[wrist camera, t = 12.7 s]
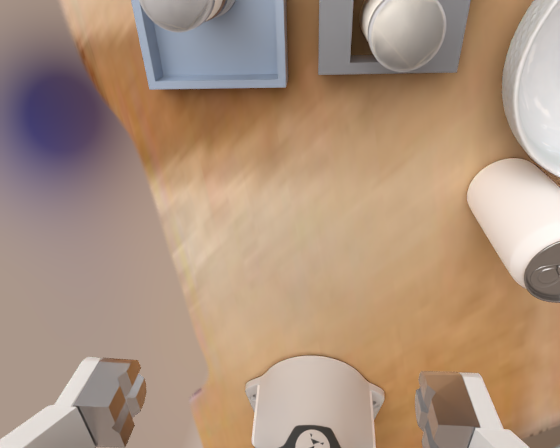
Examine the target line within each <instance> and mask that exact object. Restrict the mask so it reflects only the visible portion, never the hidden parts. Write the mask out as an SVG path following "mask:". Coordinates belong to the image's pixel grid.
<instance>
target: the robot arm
mask: <svg viewBox="0 0 560 448" xmlns="http://www.w3.org/2000/svg"><path fill="white" fill-rule="evenodd" d="M140 369H141V367H140V364H139V362H138V360H126V359H113V358H95V357H87V358H86V359H84V360H83V361H82V362H81V363H80V365H79V367H78V368H77V370H76V371H75V373H74V374H73V376H72V378H71V379H70V381H69V382H68V384H67V385H66V387H65V389H64V390H63V392H62V393H61V395H60V396H59V398H58V400H57V401H56V403H55V404H54V405H49V406H47V407H46V408H45V409H43V410H41V411H40V412H39V413H37V414H36V415H34V416H33V417H32V418H30V419H29V420H27V421H26V422H25V423H23V424H22V425H20V426H19V427H17V428H16V429H14V430H13V431H12V432H10V433H9V434H7V435H6V436H4V437H3V438H2V439H0V448H96V447H119V448H125V446H126V444H127V442H128V440H129V437H130V435H131V433H132V430H133V428H134V426H135V425H134V422H133V417H134V416H135V415H136V414H138V413H139V412H140V411H141V409H142V406H143V404H144V401H145V395H146V383H145V379H144V378H143V377H142V376H141V375H140V374H138V373H139V371H140ZM419 384H420V388H419V389H418V390H416V396H415V411H416V418H417V423H418V426H419V427H420V428H421V429H422V431H423V432H424V433H423V438H422V445H423V448H530V447H528V446H527V445H526V444H525V443H524V442H523V441H522V440H521V439H520V438H518V437H517V436H516V435H515V434H514V433H513V432H512V431H511V430H507V429H504V428H503V426H502V424H501V421H500V419H499V417H498V414H497V412H496V410H495V407H494V405H493V402H492V400H491V398H490V395H489V393H488V391H487V388H486V386H485V383H484V381H483V379H482V376H481V375H480V374H479V373H461V372H459V373H458V372H440V371H421V373H420V375H419ZM245 392H246V395H247V397H248V399H249V401H250V404H251V406H252V408H253V410H254V422H253V432H252V445H254V446H255V448H376V443H375V429H374V419H375V417H376V415H377V413H378V411H379V410H380V408H381V406H382V404H383V402H384V399H385V398H384V391H383V390H382V389H381V388H380V387H378V386H376V385H374V384H372V383H369V382H368V381H367V380H365V379H364V377H363V376H362V375H361V374H360V373H359V372H358V371H357V370H356V369H354V368H353V367H351V366H350V365H348V364H346V363H344V362H341V361H339V360H336V359H332V358H328V357H323V356H298V357H293V358H289V359H286V360H283V361H281V362H279V363H277V364H275V365H274V366H272V367H271V368H270V369H269V370H268V371H267V372H266V373H265V374H264V375H262V376H261V377H258V378H255V379H253V380H250V381H249V382H247V383H246V388H245Z"/></svg>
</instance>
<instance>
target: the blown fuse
mask: <svg viewBox="0 0 560 448" xmlns="http://www.w3.org/2000/svg"><path fill="white" fill-rule="evenodd" d="M139 2H140V4H141V6H142V8H143V10H144V11H145V13H146V14H147V16H148V17H149V18H150V19H151V20H152V21H153V22H154V23H155V24H157V25H158V26H160V27H161V28H163V29H165V30H168V31H171V32H186V31H189V30H192V29H194V28H196V27H198V26H200V25H201V24H203V23H204V22H206V21H209V20H211V19H213V18H216V17H219V16H221V15H223V14H225V13H227V12H228V11H229V10H230V9H231V8H232V7H233V5H234V4H235V2H236V0H139Z"/></svg>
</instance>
